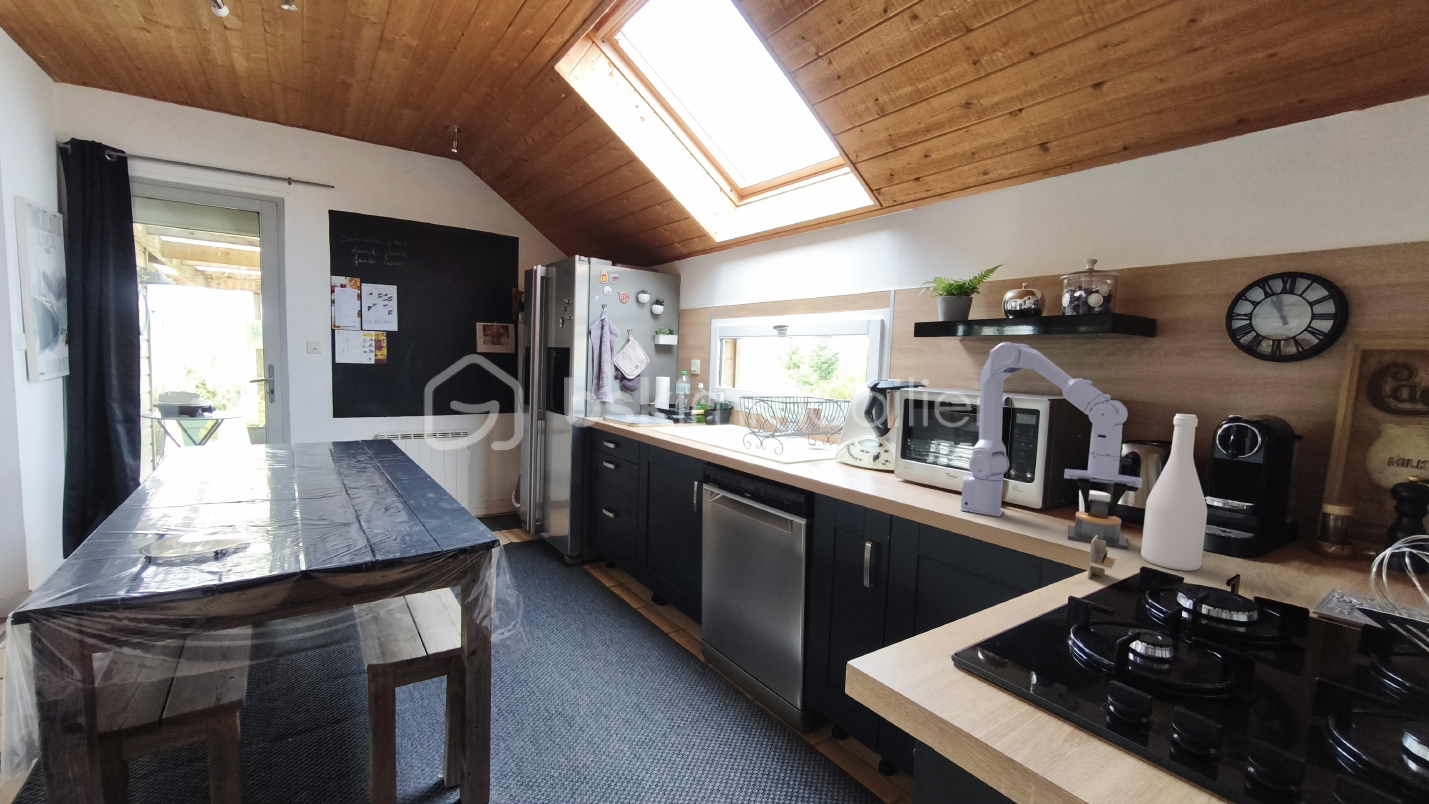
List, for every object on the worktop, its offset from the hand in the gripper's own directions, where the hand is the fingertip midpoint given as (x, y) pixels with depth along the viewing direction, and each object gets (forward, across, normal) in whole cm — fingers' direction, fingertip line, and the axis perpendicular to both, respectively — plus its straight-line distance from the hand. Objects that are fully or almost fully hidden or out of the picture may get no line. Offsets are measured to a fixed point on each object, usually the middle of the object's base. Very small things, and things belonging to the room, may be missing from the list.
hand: (1098, 513), depth 132 cm
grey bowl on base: (+6, 0, 0) cm, 6 cm away
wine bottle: (+6, +12, -11) cm, 17 cm away
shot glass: (+6, 0, +21) cm, 22 cm away
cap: (+4, 0, 0) cm, 4 cm away
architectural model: (+6, -1, -30) cm, 31 cm away
